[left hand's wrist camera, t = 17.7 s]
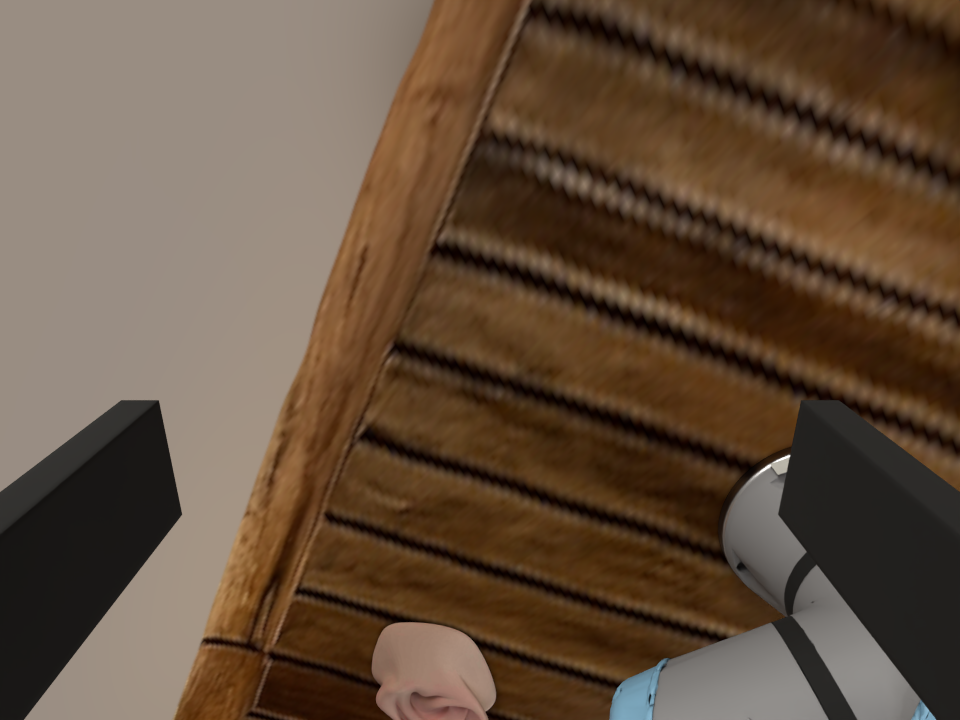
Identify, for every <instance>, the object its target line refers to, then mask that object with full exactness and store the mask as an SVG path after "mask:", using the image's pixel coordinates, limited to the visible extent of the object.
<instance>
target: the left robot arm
mask: <svg viewBox="0 0 960 720" xmlns="http://www.w3.org/2000/svg"><path fill="white" fill-rule="evenodd" d="M181 515H182V512H181V507H180V502H179V497H178V492H177V487H176V482H175V478H174V473H173V468H172V463H171V458H170V453H169V448H168V443H167V439H166V434H165V429H164V424H163V419H162V414H161V409H160V404H159V401H158V400H121V401H120V402H119V403H117V404H116V405H115V406H113V407H112V408H111V409H109V410H108V411H107V412H105V413H104V414H103V415H101V416H100V417H99V418H97V419H96V420H95V421H93V422H92V423H91V424H90V425H88V426H87V427H86V428H84V429H83V430H82V431H80V432H79V433H78V434H76V435H75V436H74V437H72V438H71V439H70V440H68V441H67V442H66V443H64V444H63V445H62V446H61V447H59V448H58V449H57V450H55V451H54V452H53V453H51V454H50V455H49V456H47V457H46V458H45V459H43V460H42V461H41V462H39V463H38V464H37V465H36V466H34V467H33V468H32V469H30V470H29V471H28V472H26V473H25V474H24V475H22V476H21V477H20V478H18V479H17V480H16V481H14V482H13V483H12V484H10V485H9V486H8V487H7V488H5V489H4V490H3V491H1V492H0V720H24V719H25V717H26V716H27V715H28V714H29V712H30V711H31V710H32V708H33V707H34V706H35V705H36V703H37V702H38V701H39V699H40V698H41V697H42V695H43V694H44V693H45V692H46V690H47V689H48V688H49V686H50V685H51V684H52V682H53V681H54V680H55V679H56V677H57V676H58V675H59V673H60V672H61V671H62V670H63V668H64V667H65V666H66V664H67V663H68V662H69V660H70V659H71V658H72V657H73V655H74V654H75V653H76V651H77V650H78V649H79V647H80V646H81V645H82V644H83V642H84V641H85V640H86V638H87V637H88V636H89V635H90V633H91V632H92V631H93V629H94V628H95V627H96V625H97V624H98V623H99V622H100V620H101V619H102V618H103V616H104V615H105V614H106V612H107V611H108V610H109V609H110V607H111V606H112V605H113V603H114V602H115V601H116V600H117V598H118V597H119V596H120V594H121V593H122V592H123V590H124V589H125V588H126V587H127V585H128V584H129V583H130V581H131V580H132V579H133V577H134V576H135V575H136V574H137V572H138V571H139V570H140V568H141V567H142V566H143V565H144V563H145V562H146V561H147V559H148V558H149V557H150V555H151V554H152V553H153V552H154V550H155V549H156V548H157V546H158V545H159V544H160V542H161V541H162V540H163V539H164V537H165V536H166V535H167V533H168V532H169V531H170V530H171V528H172V527H173V526H174V524H175V523H176V522H177V520H178V519H179V518H180V516H181ZM718 535H719V541H720V546H721V548H722V551H723V553H724V555H725V557H726V559H727V561H728V563H729V564H730V566H731V568H732V569H733V571H734V572H735V574H736V575H737V576H738V577H739V578H740V579H741V580H742V582H743V583H744V584H745V585H746V586H747V587H748V588H750V589H751V590H752V591H753V592H755V593H756V594H757V595H759V596H760V597H761V598H762V599H764V600H765V601H766V602H768V603H769V604H770V605H771V606H773V607H774V608H775V609H777V610H778V611H779V612H780V613H782V614H783V615H784V616H786V617H785V618H782V619H780V620H777V621H775V622H771V623H769V624H766V625H763V626H761V627H758V628H755V629H753V630H750V631H747V632H745V633H742V634H739V635H736V636H734V637H731V638H728V639H725V640H723V641H720V642H717V643H714V644H712V645H709V646H706V647H703V648H701V649H698V650H695V651H692V652H690V653H687V654H684V655H682V656H679V657H676V658H673V659H670V658H666V659H664V660H662V661H660V662H659V663H658V665H657V666H656V667H653V668H651V669H649V670H647V671H644V672H642V673H640V674H637V675H635V676H633V677H631V678H628V679H627V680H625V681H624V682H623V683H621V685H620V686H619V687H618V688H617V690H616V692H615V695H614V697H613V700H612V706H611V709H610V720H960V492H959V491H957V490H956V489H955V488H954V487H952V486H951V485H950V484H948V483H947V482H946V481H944V480H943V479H942V478H940V477H939V476H938V475H936V474H935V473H934V472H932V471H931V470H930V469H928V468H927V467H926V466H925V465H923V464H922V463H921V462H919V461H918V460H917V459H915V458H914V457H913V456H911V455H910V454H909V453H907V452H906V451H905V450H903V449H902V448H901V447H899V446H898V445H897V444H896V443H894V442H893V441H892V440H890V439H889V438H888V437H886V436H885V435H884V434H882V433H881V432H880V431H878V430H877V429H876V428H874V427H873V426H872V425H870V424H869V423H868V422H867V421H865V420H864V419H863V418H861V417H860V416H859V415H857V414H856V413H855V412H853V411H852V410H851V409H849V408H848V407H847V406H845V405H844V404H843V403H841V402H840V401H839V400H801V404H800V409H799V414H798V419H797V424H796V429H795V433H794V438H793V443H792V447H789V448H787V449H784V450H781V451H779V452H777V453H774V454H772V455H770V456H769V457H767V458H765V459H763V460H762V461H760V462H759V463H757V464H756V465H755V466H753V467H752V468H751V469H750V470H748V471H747V472H746V473H745V474H744V475H743V476H742V477H741V478H740V479H739V480H738V482H737V483H736V484H735V485H734V487H733V488H732V489H731V491H730V493H729V494H728V496H727V498H726V500H725V502H724V504H723V507H722V510H721V513H720V517H719V524H718Z"/></svg>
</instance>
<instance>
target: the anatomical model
mask: <svg viewBox="0 0 960 720" xmlns="http://www.w3.org/2000/svg"><path fill="white" fill-rule="evenodd" d="M372 674H373V677H374V678H375V680H376V681H377V682H378V683H379V684H380V685H381V688H380V689H379V691H378V693H377V696H376V702H377V705H378V706H379V707H380V708H381V709H382V710H383V711H384V712H385V713H386V714H387V715H389V716H390V717H391V718H392V719H393V720H488V717H487V715H486V713H485V712H486V711H487V710H488V709H490V708H491V707H492V705H493V704H494V702H495V699H496V690H495V685H494V682H493V679H492V676H491V673H490V670H489V668H488V666H487V663H486V661H485V659H484V657H483V655H482V654H481V652H480V650H479V649H478V647H477V645H476V644H475V643H474V642H473V641H472V639H471V638H469V637H468V636H467V635H465V634H464V633H462V632H460V631H458V630H456V629H453V628H450V627H446V626H442V625H436V624H428V623H416V622H401V623H395V624H391V625H389V626H387V627H386V628H385V629H384V630H383V631H382V633H381V635H380V637H379V639H378V641H377V644H376V647H375V650H374V654H373V660H372Z"/></svg>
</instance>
